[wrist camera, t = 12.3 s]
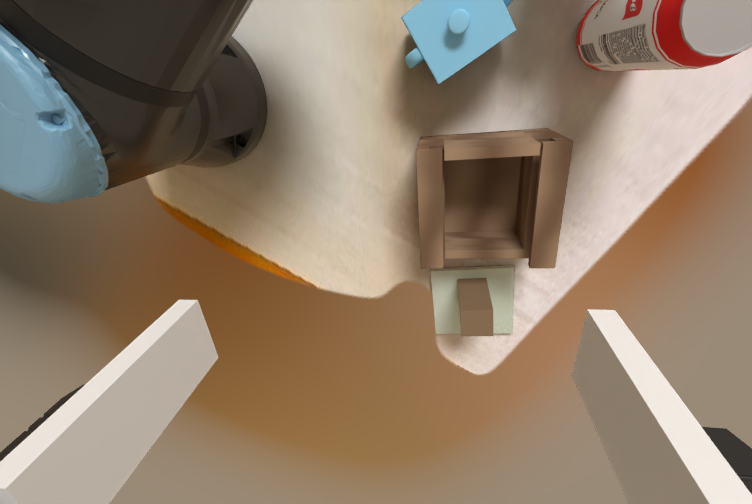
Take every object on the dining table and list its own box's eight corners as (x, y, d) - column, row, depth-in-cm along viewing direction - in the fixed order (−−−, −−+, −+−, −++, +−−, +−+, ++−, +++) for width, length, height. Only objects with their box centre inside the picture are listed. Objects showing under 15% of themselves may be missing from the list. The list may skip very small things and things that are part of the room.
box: (424, 236, 44) (420, 268, 37) (420, 136, 39) (416, 151, 32) (535, 234, 42) (554, 268, 35) (547, 128, 37) (572, 141, 30)
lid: (435, 329, 51) (434, 370, 44) (430, 267, 47) (428, 302, 39) (511, 328, 49) (523, 371, 42) (513, 264, 44) (526, 299, 37)
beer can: (559, 29, 33) (648, -5, 19) (629, -28, 31) (791, -115, 16) (592, 86, 35) (697, 94, 20) (661, 36, 32) (835, 7, 18)
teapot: (509, -55, 31) (528, -90, 24) (538, 12, 33) (563, -3, 26) (394, 37, 36) (384, 28, 29) (426, 92, 37) (422, 96, 31)
